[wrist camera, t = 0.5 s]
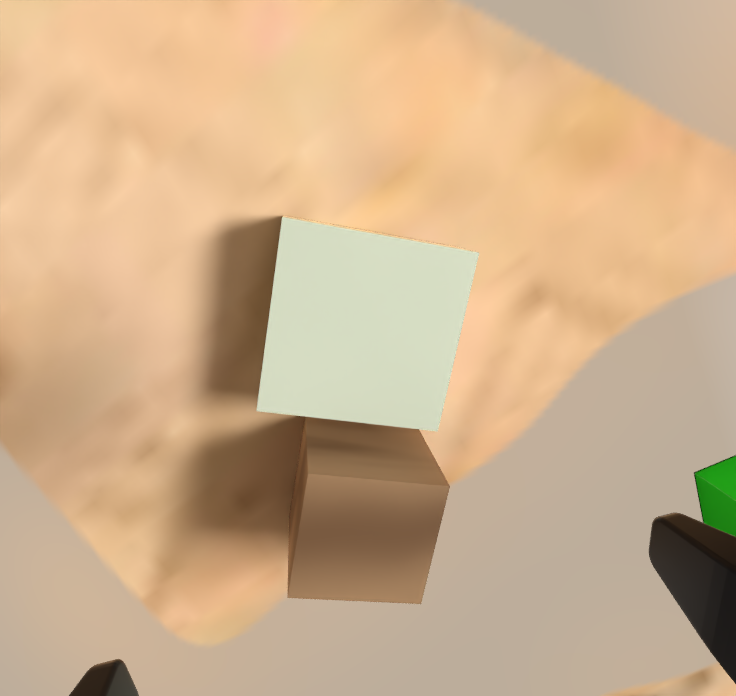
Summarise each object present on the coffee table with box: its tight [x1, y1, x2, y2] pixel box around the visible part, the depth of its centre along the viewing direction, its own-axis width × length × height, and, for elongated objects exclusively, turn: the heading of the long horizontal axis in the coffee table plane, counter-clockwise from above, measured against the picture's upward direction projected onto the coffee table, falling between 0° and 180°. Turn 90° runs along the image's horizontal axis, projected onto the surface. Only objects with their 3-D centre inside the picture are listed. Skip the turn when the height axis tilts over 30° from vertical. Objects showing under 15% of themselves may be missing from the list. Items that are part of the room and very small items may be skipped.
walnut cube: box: [288, 417, 450, 604], centre depth 20 cm, size 5×5×5 cm
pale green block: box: [256, 216, 479, 431], centre depth 19 cm, size 7×7×2 cm
